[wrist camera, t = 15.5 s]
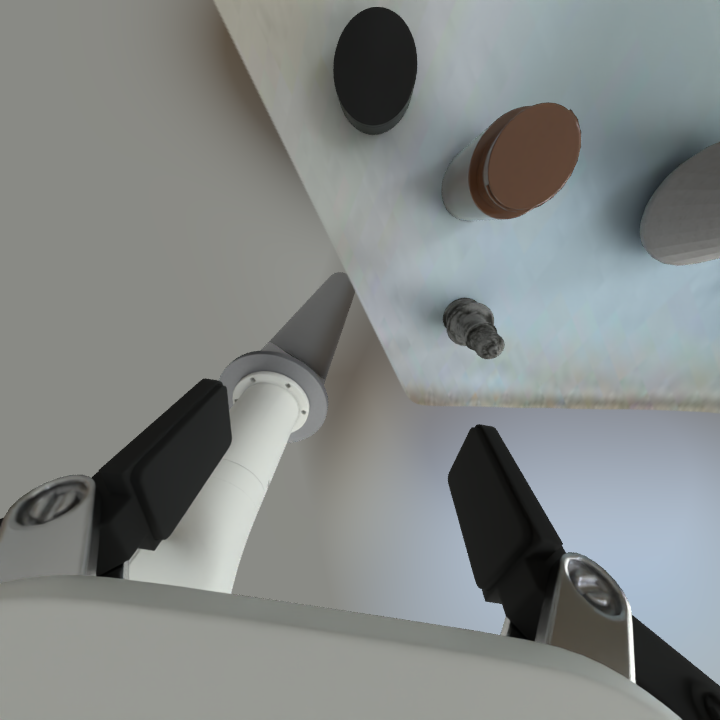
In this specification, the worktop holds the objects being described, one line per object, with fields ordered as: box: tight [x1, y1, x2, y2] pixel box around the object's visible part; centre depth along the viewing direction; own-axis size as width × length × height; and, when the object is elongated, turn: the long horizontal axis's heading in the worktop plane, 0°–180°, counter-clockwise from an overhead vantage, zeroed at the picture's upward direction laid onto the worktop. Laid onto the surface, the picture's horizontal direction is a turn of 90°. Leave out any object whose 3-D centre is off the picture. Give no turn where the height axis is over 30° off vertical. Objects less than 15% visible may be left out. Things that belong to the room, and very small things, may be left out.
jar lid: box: [333, 7, 417, 135], centre depth 24 cm, size 8×8×3 cm
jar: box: [442, 102, 581, 221], centre depth 23 cm, size 7×7×12 cm
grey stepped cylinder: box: [443, 298, 505, 359], centre depth 31 cm, size 6×6×12 cm
